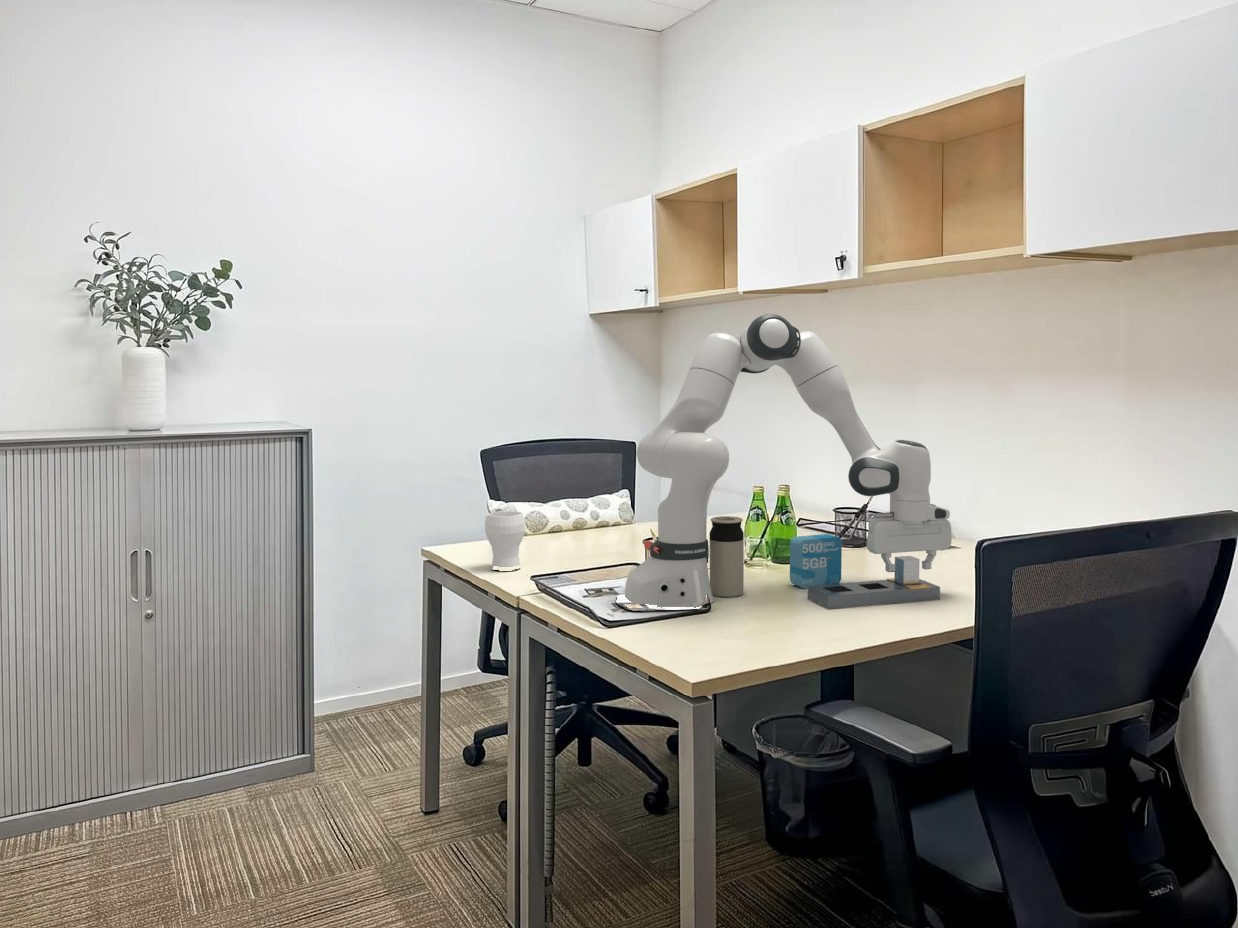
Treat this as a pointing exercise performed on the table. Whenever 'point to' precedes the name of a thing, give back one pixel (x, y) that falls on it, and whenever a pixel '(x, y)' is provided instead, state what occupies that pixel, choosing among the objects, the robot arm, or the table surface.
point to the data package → (815, 560)
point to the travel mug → (726, 557)
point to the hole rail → (871, 593)
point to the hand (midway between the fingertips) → (908, 570)
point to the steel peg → (906, 570)
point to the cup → (505, 536)
